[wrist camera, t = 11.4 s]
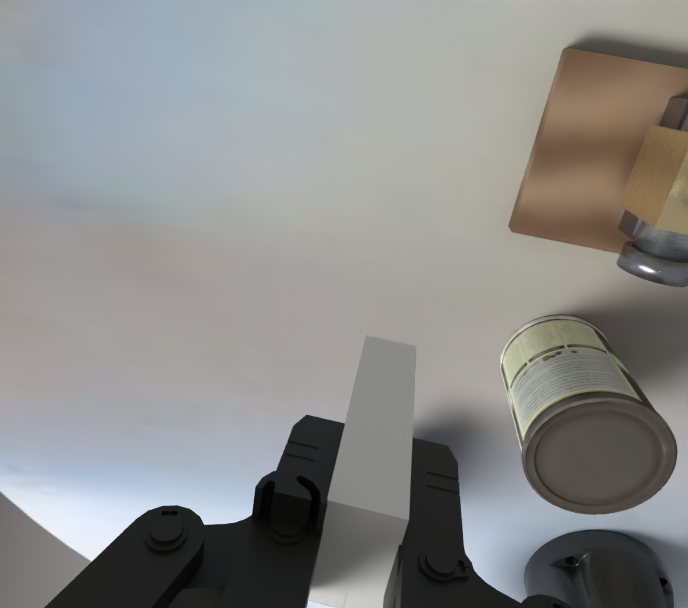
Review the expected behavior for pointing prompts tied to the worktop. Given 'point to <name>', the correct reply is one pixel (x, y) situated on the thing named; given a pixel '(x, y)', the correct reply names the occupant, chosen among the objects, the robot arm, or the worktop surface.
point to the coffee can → (583, 419)
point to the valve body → (659, 202)
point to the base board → (591, 146)
